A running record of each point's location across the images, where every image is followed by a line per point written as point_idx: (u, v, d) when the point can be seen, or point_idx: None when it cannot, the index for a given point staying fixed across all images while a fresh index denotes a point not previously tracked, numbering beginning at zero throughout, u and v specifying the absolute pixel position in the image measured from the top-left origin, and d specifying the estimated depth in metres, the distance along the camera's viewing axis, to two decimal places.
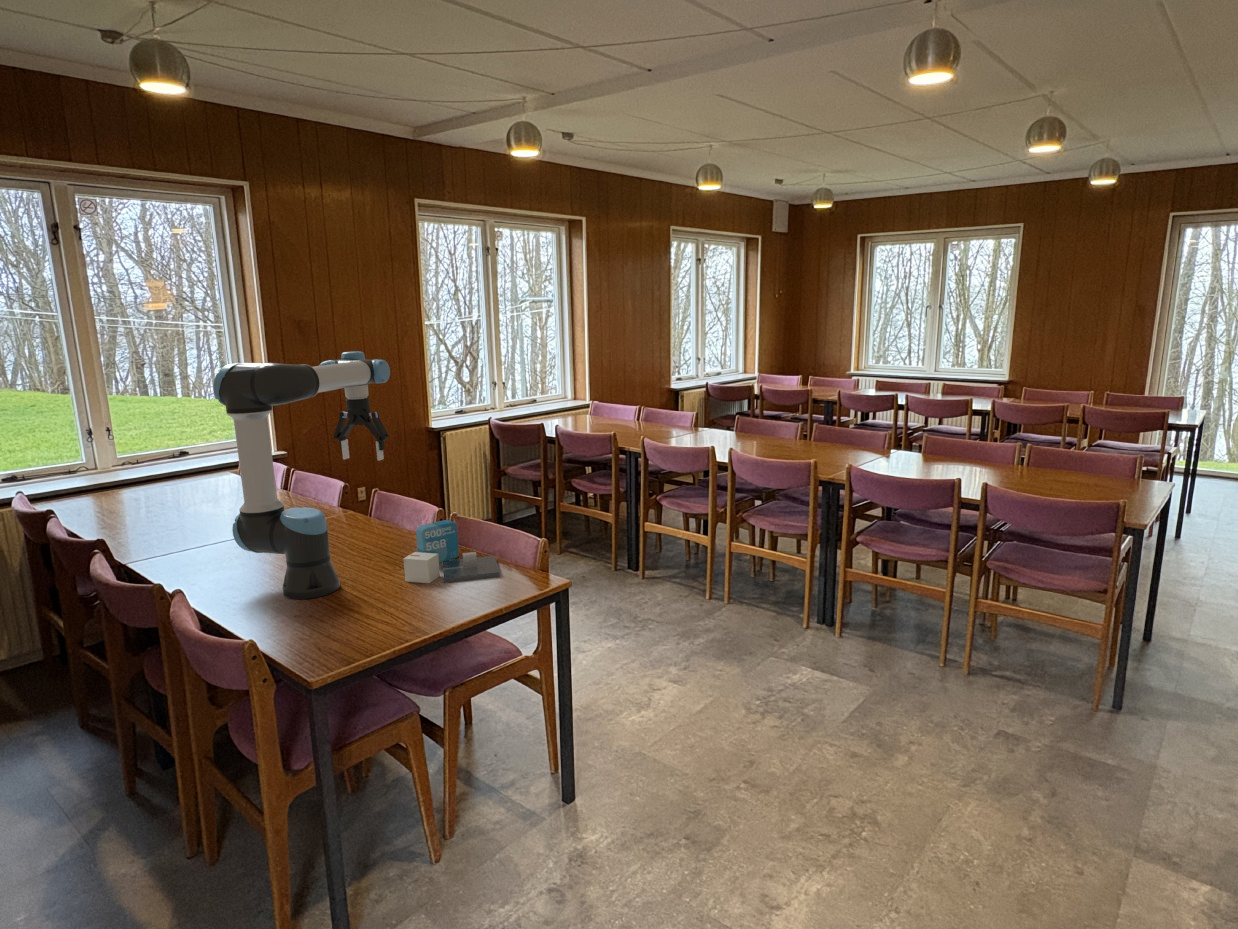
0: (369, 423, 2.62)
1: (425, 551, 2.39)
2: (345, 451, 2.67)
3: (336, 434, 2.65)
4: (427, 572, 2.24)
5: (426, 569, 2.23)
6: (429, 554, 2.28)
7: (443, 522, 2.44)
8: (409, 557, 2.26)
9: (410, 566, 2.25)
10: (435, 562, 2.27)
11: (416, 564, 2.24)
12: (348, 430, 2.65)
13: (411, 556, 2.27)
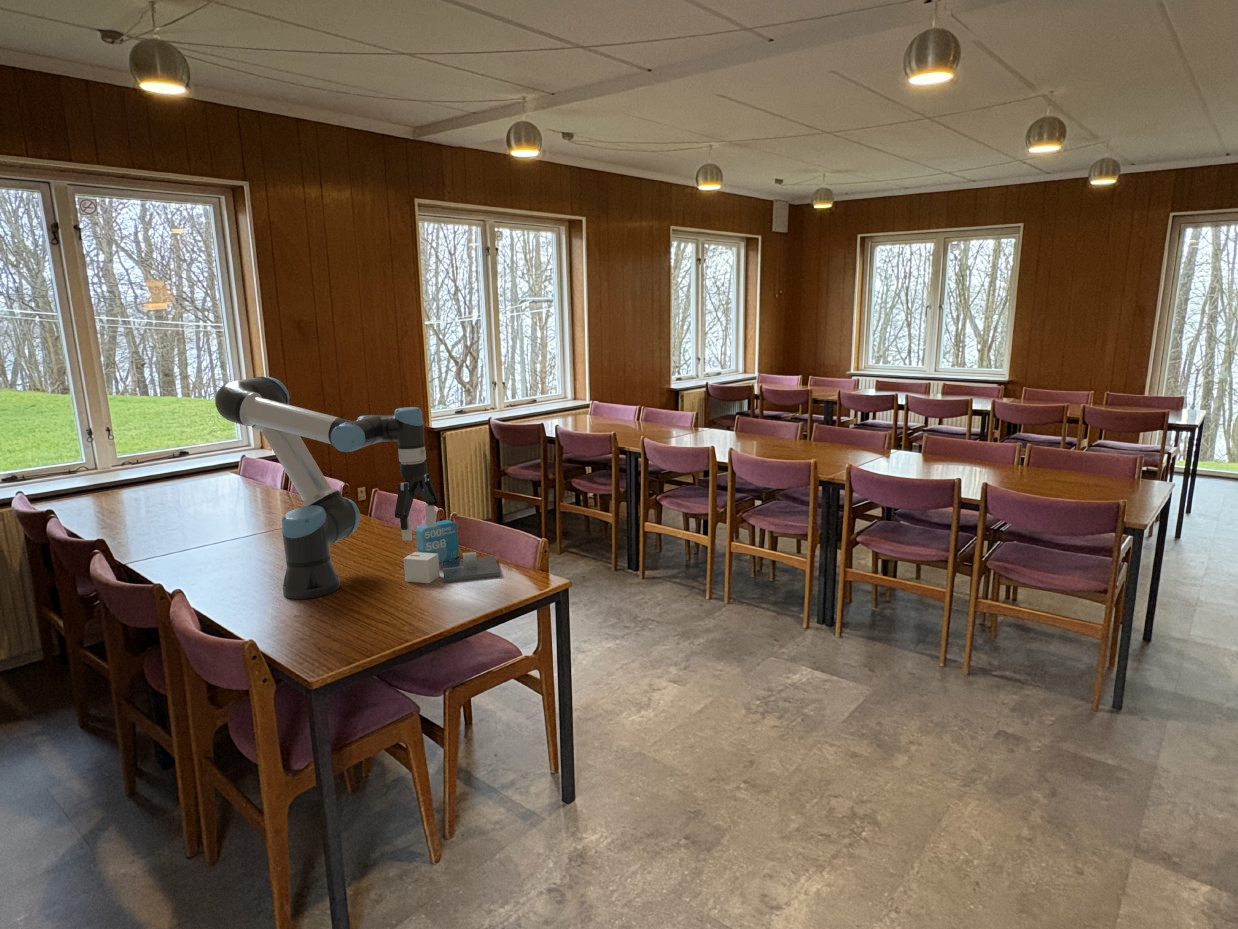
0: None
1: (425, 551, 2.39)
2: (428, 517, 2.31)
3: None
4: (427, 572, 2.24)
5: (426, 569, 2.23)
6: (429, 554, 2.28)
7: (443, 522, 2.44)
8: (409, 557, 2.26)
9: (410, 566, 2.25)
10: (435, 562, 2.27)
11: (416, 564, 2.24)
12: (424, 496, 2.28)
13: (411, 556, 2.27)
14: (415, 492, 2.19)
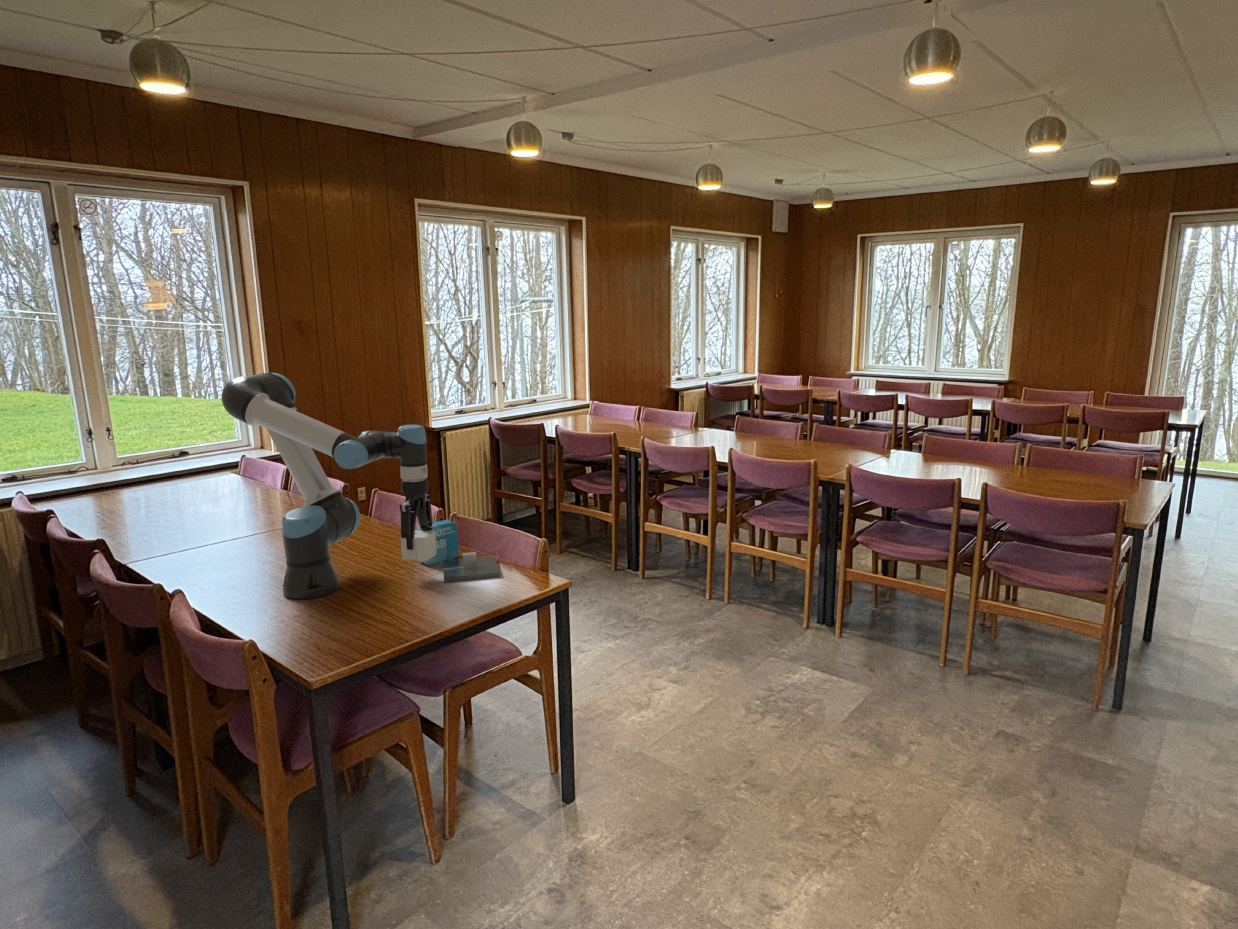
0: None
1: None
2: None
3: None
4: (424, 550, 2.22)
5: (423, 547, 2.22)
6: (426, 532, 2.27)
7: (443, 522, 2.44)
8: None
9: (406, 544, 2.24)
10: (432, 540, 2.26)
11: None
12: (420, 517, 2.27)
13: None
14: (417, 510, 2.21)
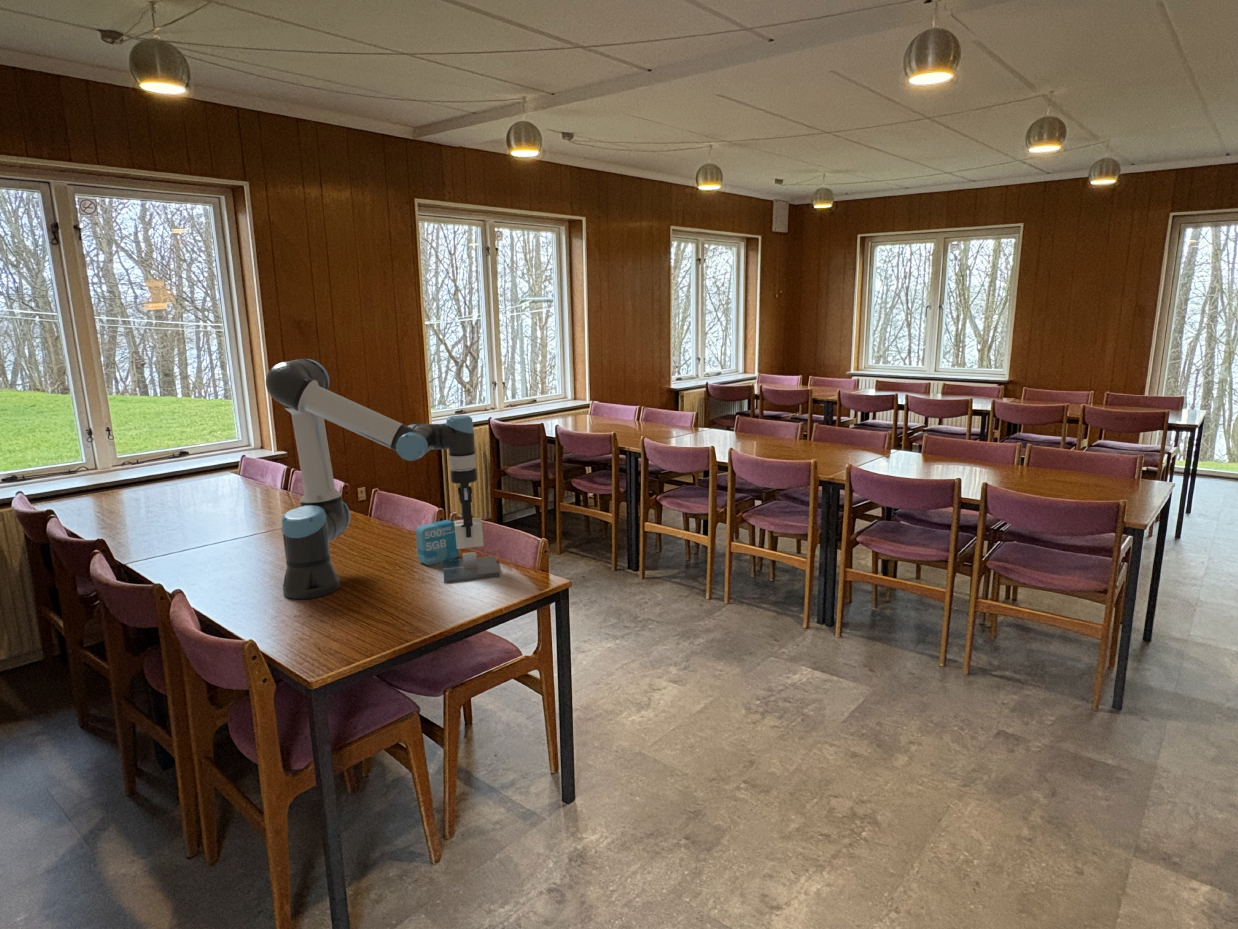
0: None
1: (425, 551, 2.39)
2: None
3: None
4: (481, 535, 2.29)
5: (480, 532, 2.29)
6: (473, 519, 2.33)
7: (443, 522, 2.44)
8: (457, 524, 2.28)
9: (462, 533, 2.28)
10: None
11: None
12: None
13: (459, 523, 2.29)
14: (471, 498, 2.27)
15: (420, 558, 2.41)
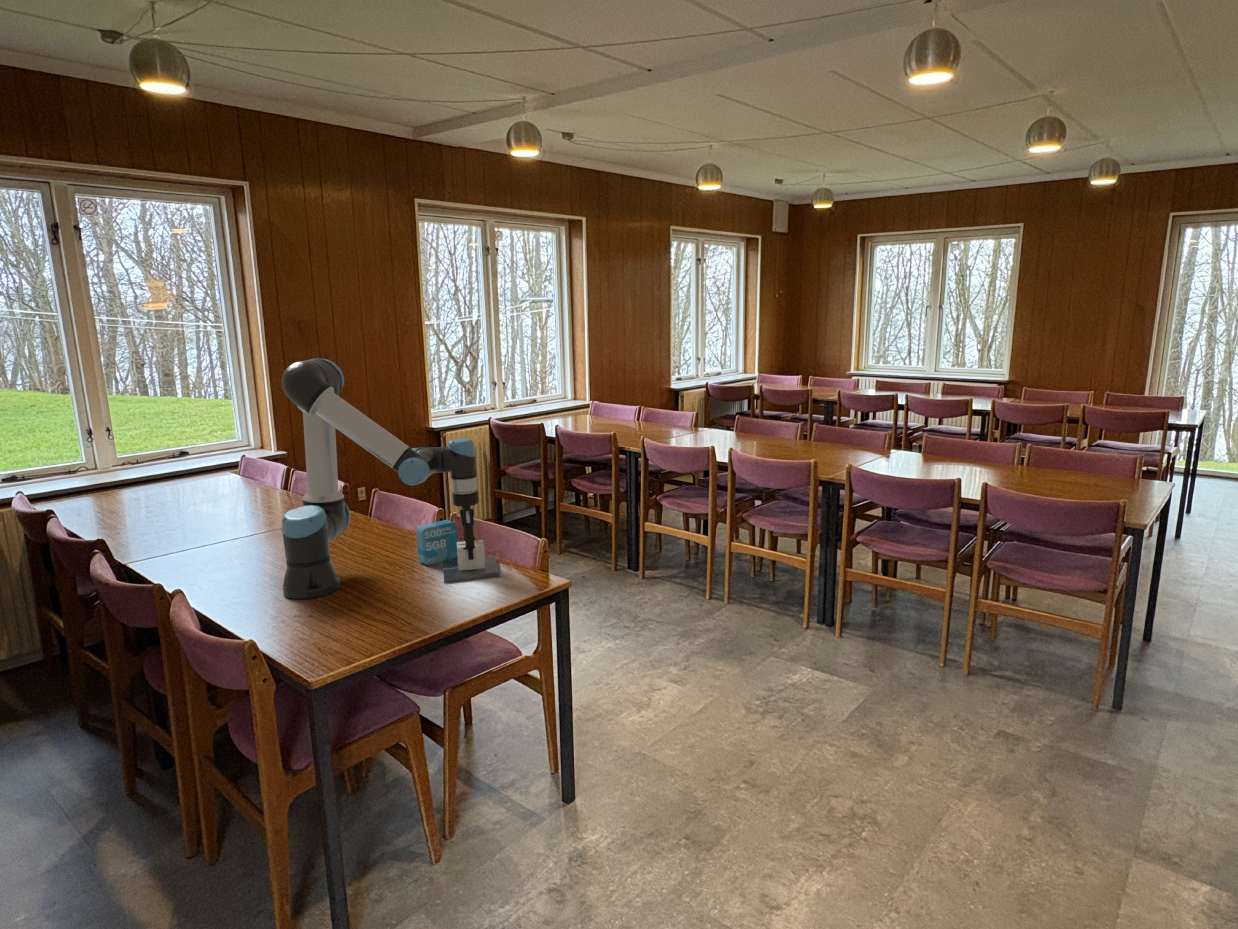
0: None
1: (425, 551, 2.39)
2: None
3: None
4: (483, 557, 2.31)
5: (482, 554, 2.30)
6: (475, 541, 2.34)
7: (443, 522, 2.44)
8: (460, 546, 2.30)
9: (464, 555, 2.29)
10: None
11: None
12: None
13: (461, 545, 2.30)
14: (473, 521, 2.29)
15: (420, 558, 2.41)
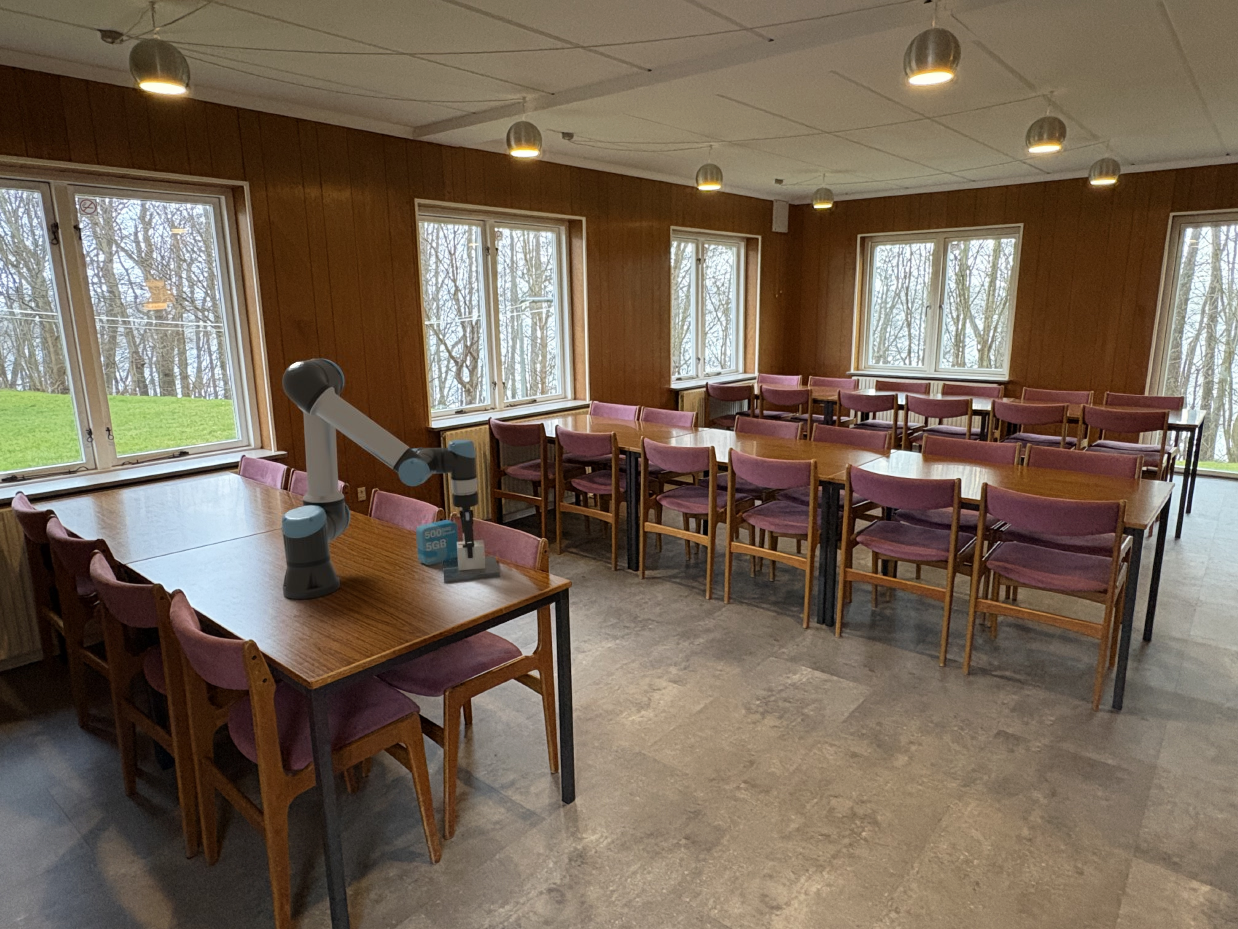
0: None
1: (425, 551, 2.39)
2: None
3: None
4: (483, 557, 2.31)
5: (482, 554, 2.30)
6: (475, 541, 2.34)
7: (443, 522, 2.44)
8: (460, 546, 2.30)
9: (464, 555, 2.29)
10: None
11: None
12: None
13: (461, 545, 2.30)
14: None
15: (420, 558, 2.41)
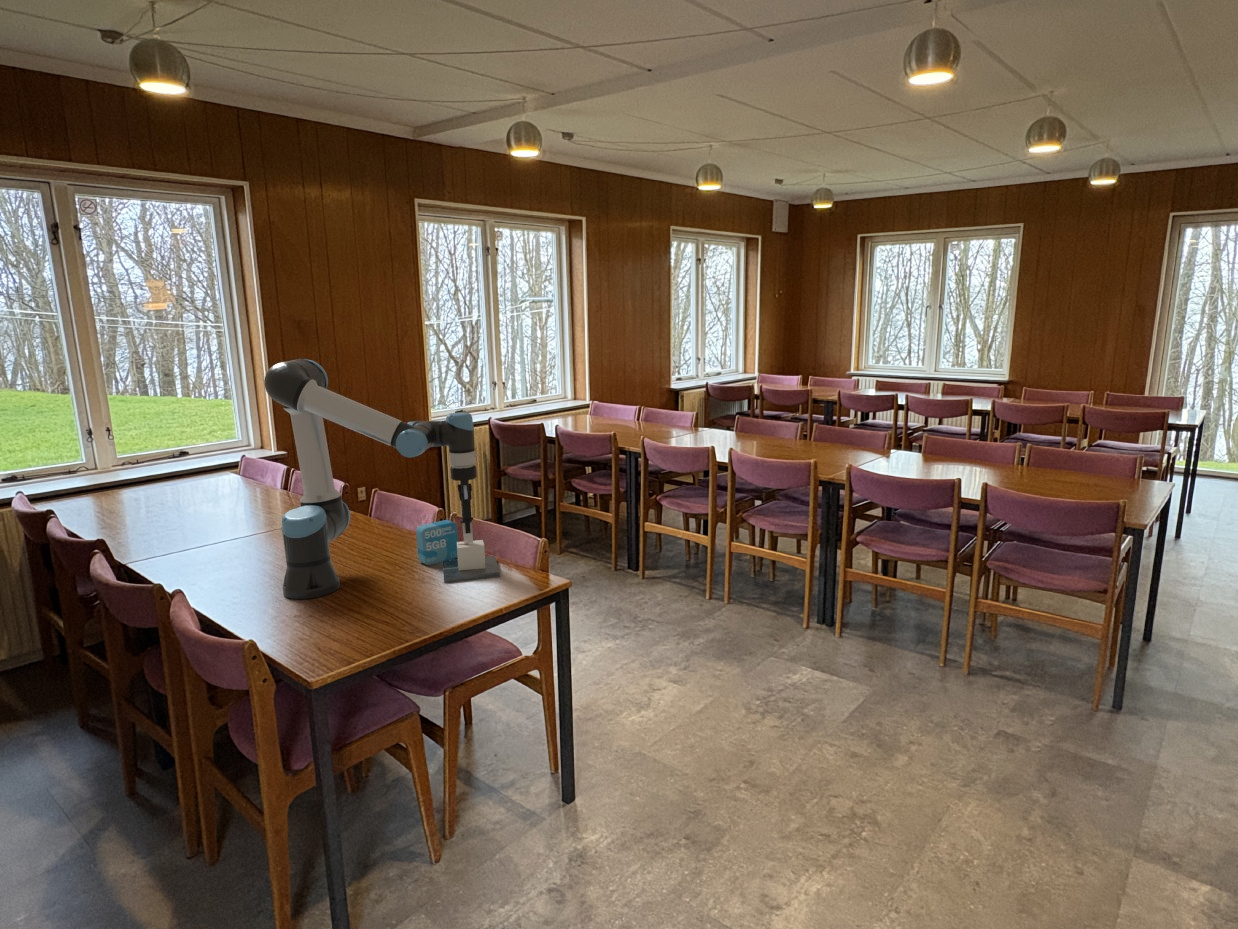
0: None
1: (425, 551, 2.39)
2: (466, 533, 2.31)
3: None
4: (483, 557, 2.31)
5: (482, 554, 2.30)
6: (475, 541, 2.34)
7: (443, 522, 2.44)
8: (460, 546, 2.30)
9: (464, 555, 2.29)
10: None
11: (472, 551, 2.29)
12: None
13: (461, 545, 2.30)
14: None
15: (420, 558, 2.41)
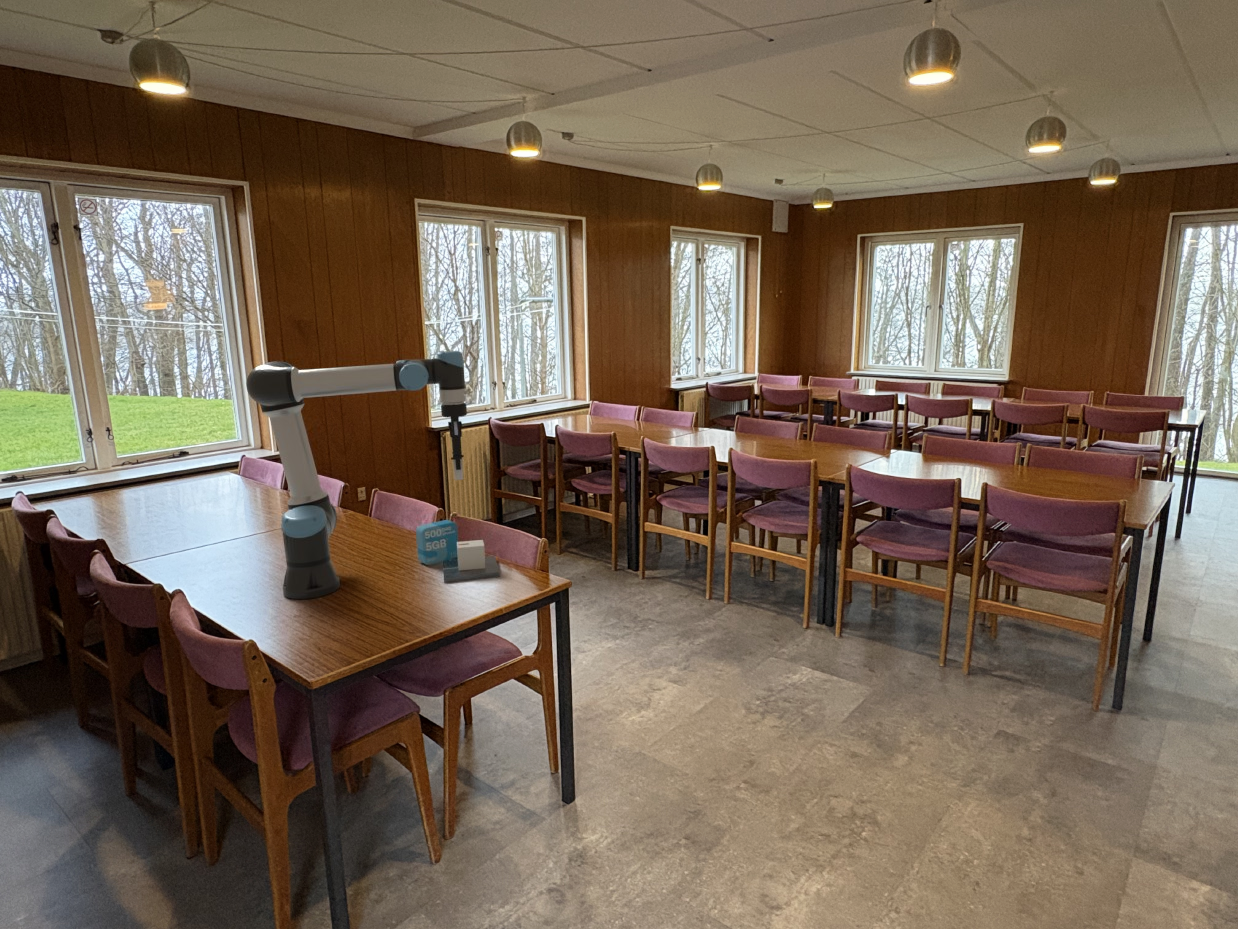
0: None
1: (425, 551, 2.39)
2: None
3: (452, 449, 2.38)
4: (483, 557, 2.31)
5: (482, 554, 2.30)
6: (475, 541, 2.34)
7: (443, 522, 2.44)
8: (460, 546, 2.30)
9: (464, 555, 2.29)
10: None
11: (472, 551, 2.29)
12: None
13: (461, 545, 2.30)
14: (461, 432, 2.34)
15: (420, 558, 2.41)
